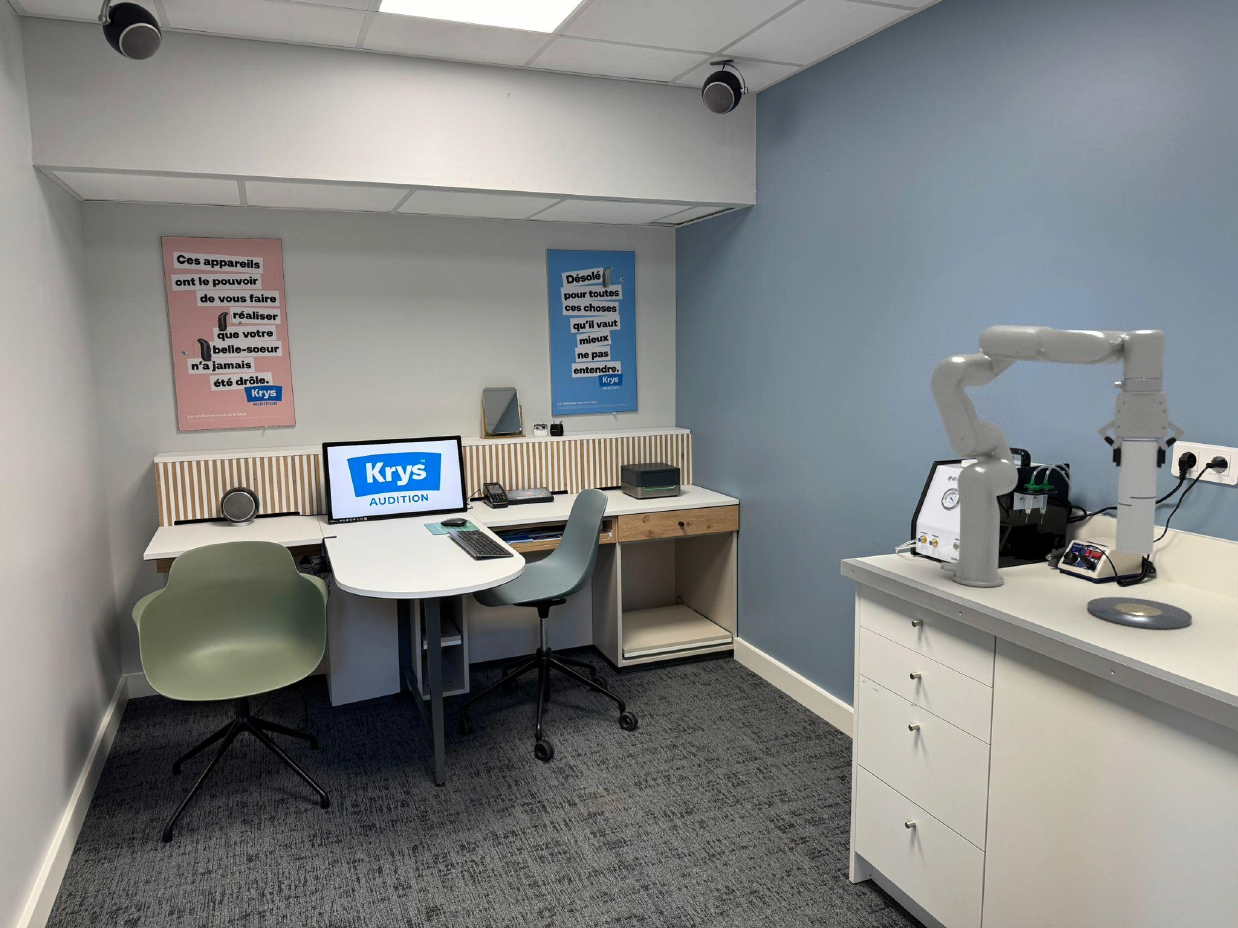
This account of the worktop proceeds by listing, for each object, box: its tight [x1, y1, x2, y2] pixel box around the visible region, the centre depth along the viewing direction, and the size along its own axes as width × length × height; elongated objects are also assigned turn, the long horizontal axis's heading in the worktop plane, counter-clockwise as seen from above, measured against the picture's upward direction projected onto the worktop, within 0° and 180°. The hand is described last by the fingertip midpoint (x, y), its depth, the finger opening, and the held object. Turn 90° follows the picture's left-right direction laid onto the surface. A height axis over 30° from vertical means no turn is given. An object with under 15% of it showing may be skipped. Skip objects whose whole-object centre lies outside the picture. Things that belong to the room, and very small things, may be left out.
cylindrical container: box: [1114, 438, 1159, 555], centre depth 182 cm, size 7×7×25 cm
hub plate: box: [1086, 596, 1193, 631], centre depth 185 cm, size 20×20×1 cm
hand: (1138, 466), depth 181 cm, fingers closed on cylindrical container, 7 cm apart
